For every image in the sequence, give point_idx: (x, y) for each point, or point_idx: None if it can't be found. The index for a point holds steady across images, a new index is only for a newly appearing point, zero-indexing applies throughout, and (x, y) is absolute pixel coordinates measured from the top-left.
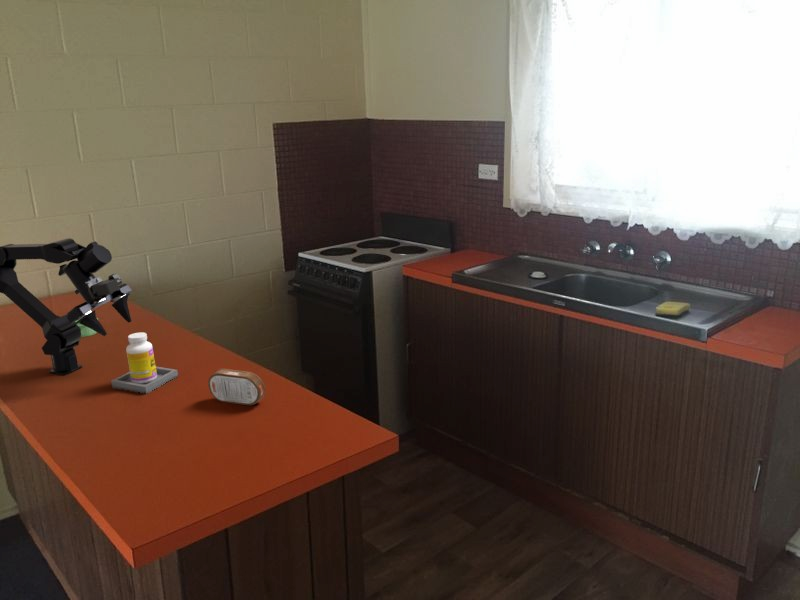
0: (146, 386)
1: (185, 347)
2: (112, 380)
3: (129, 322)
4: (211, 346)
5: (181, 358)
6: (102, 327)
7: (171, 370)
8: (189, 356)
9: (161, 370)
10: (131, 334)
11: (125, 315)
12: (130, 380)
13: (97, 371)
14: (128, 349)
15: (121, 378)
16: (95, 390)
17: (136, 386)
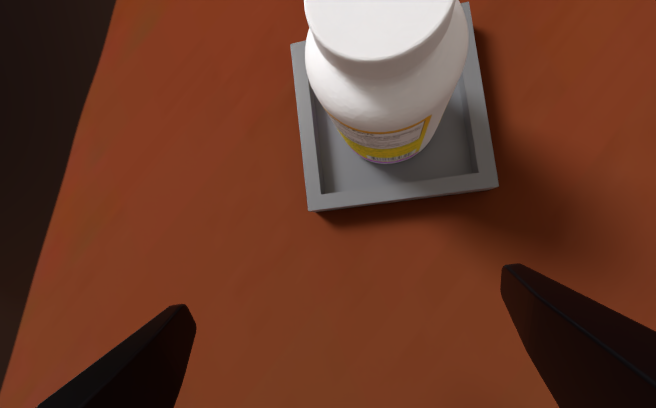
0: (462, 3)
1: (102, 261)
2: (492, 184)
3: (192, 319)
4: (68, 182)
5: (178, 188)
6: (574, 311)
7: (304, 57)
8: (156, 178)
9: (312, 107)
10: (384, 52)
11: (147, 382)
12: (417, 165)
13: (403, 398)
14: (465, 40)
15: (449, 177)
16: (543, 231)
17: (474, 51)
